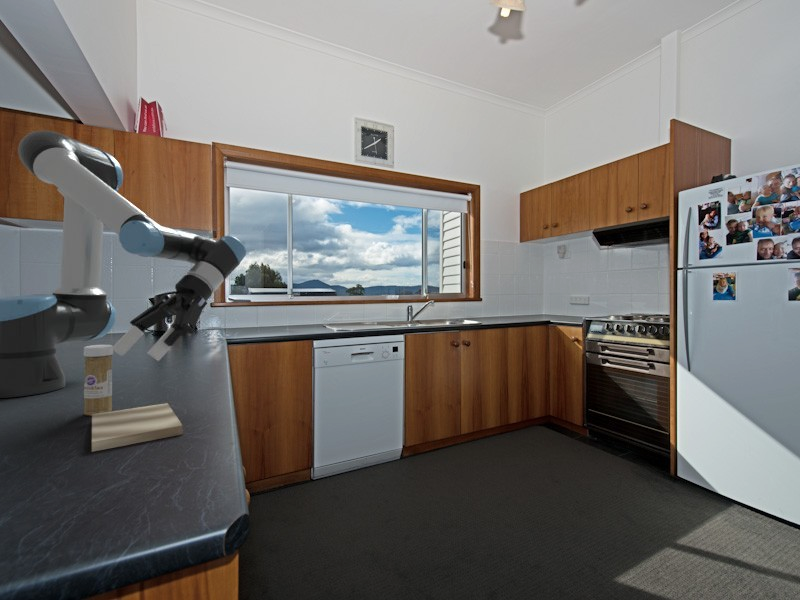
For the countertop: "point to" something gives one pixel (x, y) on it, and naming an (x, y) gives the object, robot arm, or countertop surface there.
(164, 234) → the robot arm
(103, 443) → the birch board
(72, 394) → the countertop surface
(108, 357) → the sprinkles bottle
